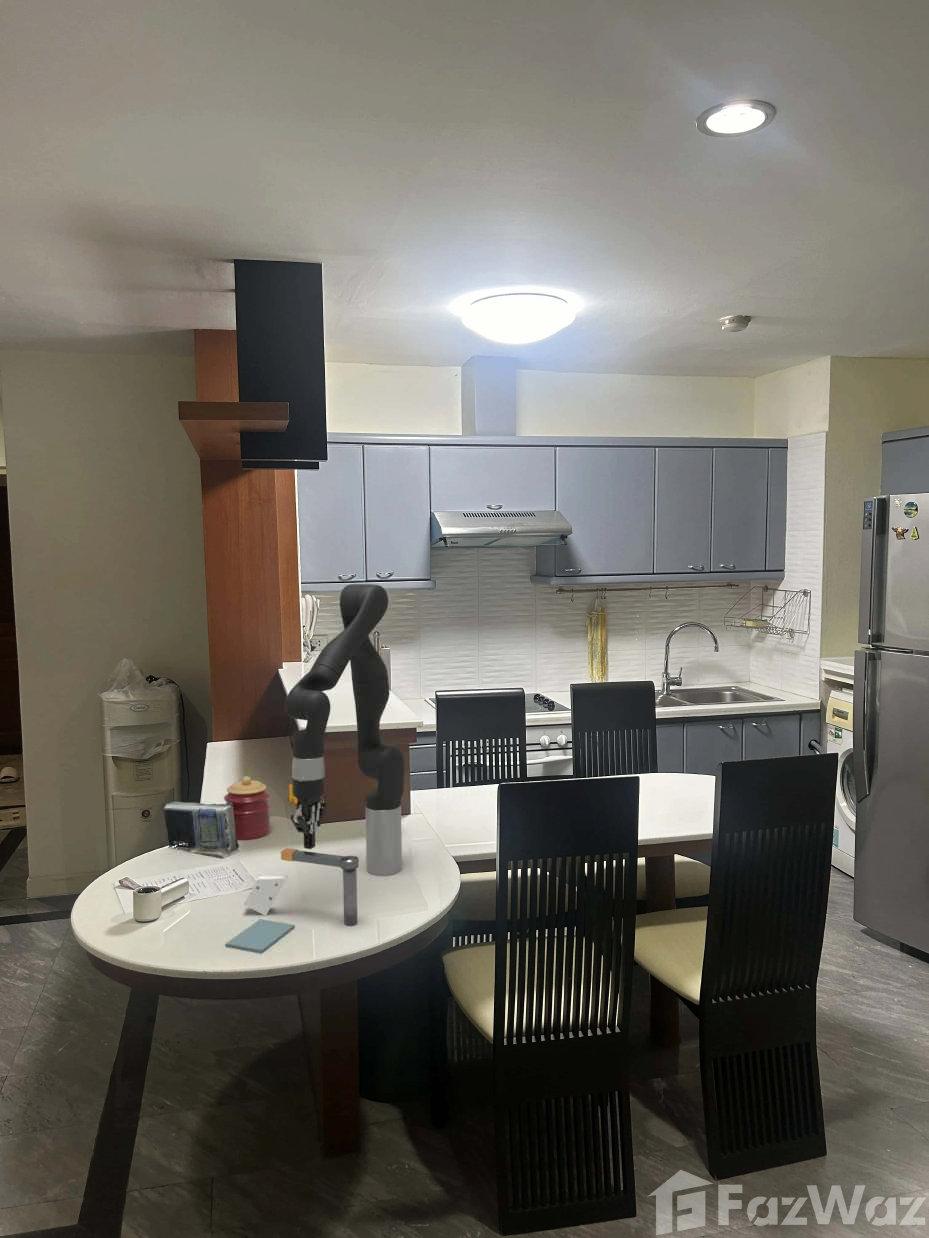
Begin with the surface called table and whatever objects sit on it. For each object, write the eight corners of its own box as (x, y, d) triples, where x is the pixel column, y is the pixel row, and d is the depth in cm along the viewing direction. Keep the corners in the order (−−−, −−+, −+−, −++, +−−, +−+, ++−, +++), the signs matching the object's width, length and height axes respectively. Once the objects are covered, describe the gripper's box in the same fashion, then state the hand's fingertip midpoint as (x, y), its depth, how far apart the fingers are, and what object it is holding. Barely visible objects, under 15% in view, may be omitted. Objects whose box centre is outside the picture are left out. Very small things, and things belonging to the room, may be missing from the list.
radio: (160, 849, 248) (158, 798, 247) (184, 840, 255) (182, 791, 254) (218, 863, 236) (216, 810, 235) (241, 854, 244) (239, 802, 242)
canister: (277, 829, 264) (275, 771, 263) (260, 843, 252) (258, 783, 250) (236, 827, 267) (235, 769, 265) (217, 841, 254) (215, 781, 252)
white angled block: (287, 915, 203) (286, 878, 202) (244, 916, 202) (242, 879, 201) (290, 908, 206) (289, 872, 205) (247, 909, 206) (246, 873, 205)
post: (347, 919, 200) (346, 864, 199) (359, 921, 199) (358, 866, 198) (341, 924, 197) (340, 869, 196) (353, 926, 196) (352, 870, 195)
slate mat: (260, 922, 199) (260, 919, 199) (294, 928, 196) (294, 924, 196) (225, 947, 187) (225, 943, 187) (261, 953, 184) (261, 950, 183)
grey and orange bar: (361, 864, 198) (361, 856, 198) (353, 871, 194) (353, 862, 194) (288, 855, 205) (288, 846, 205) (279, 861, 201) (278, 852, 201)
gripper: (309, 767, 212) (310, 837, 214) (279, 780, 200) (280, 854, 201) (336, 769, 210) (337, 841, 211) (308, 783, 197) (309, 858, 199)
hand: (309, 847), depth 206 cm, fingers closed
